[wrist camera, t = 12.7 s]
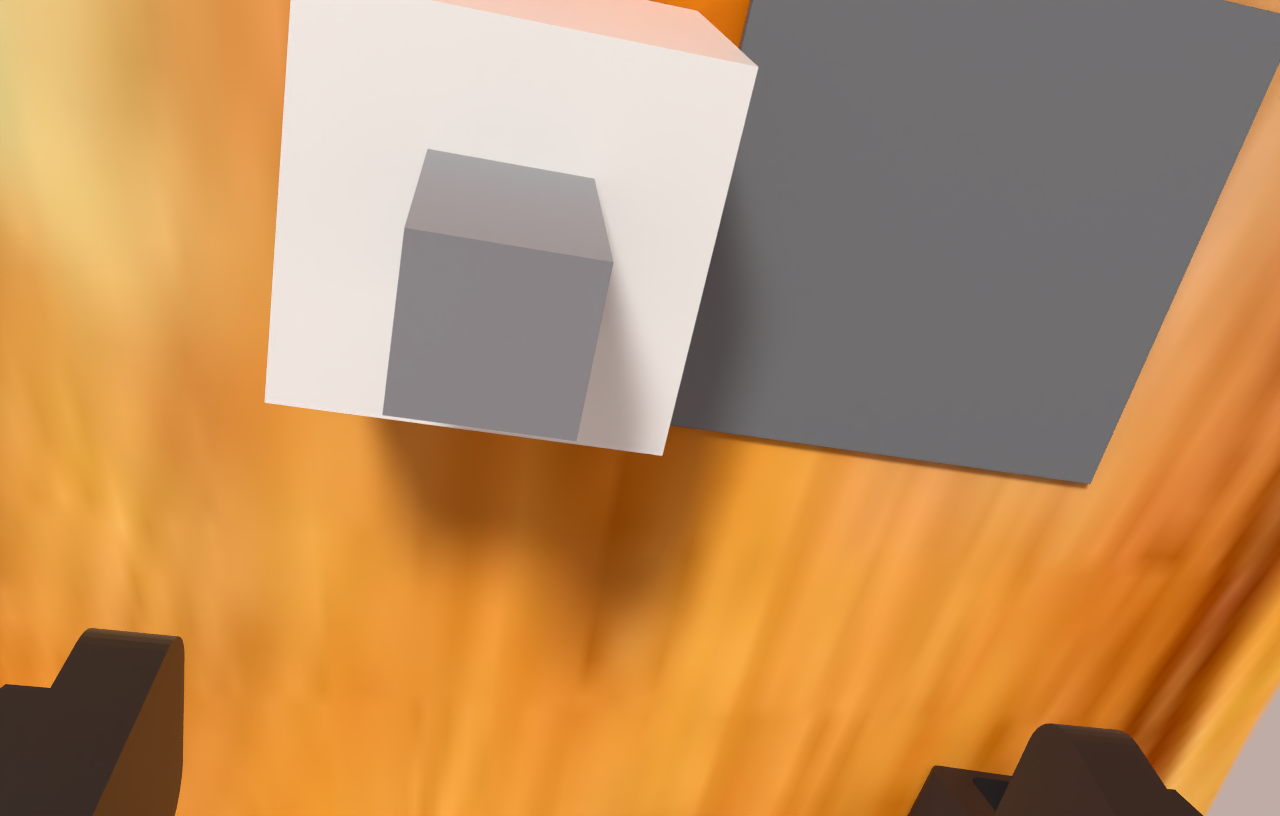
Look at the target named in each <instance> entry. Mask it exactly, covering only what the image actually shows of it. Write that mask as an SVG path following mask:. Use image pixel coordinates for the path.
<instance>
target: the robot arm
mask: <svg viewBox="0 0 1280 816" xmlns="http://www.w3.org/2000/svg"><path fill="white" fill-rule="evenodd" d="M183 714H184V644H183V640H182V639H181V637H178V636H168V635H158V634H147V633H137V632H127V631H116V630H106V629H96V628H90V629H87V630H86V631H85V632H84V633H83V634H82V635H81V636H80V638H79V639H78V641H77V643H76V644H75V646H74V648H73V650H72V651H71V653H70V655H69V657H68V658H67V660H66V662H65V664H64V665H63V667H62V669H61V671H60V672H59V674H58V676H57V677H56V679H55V681H54V683H53V684H52V686H51V688H43V687H32V686H21V685H9V684H5V685H4V686H3V687H1V688H0V816H175V812H176V808H177V803H178V798H179V792H180V786H181V778H182V766H183ZM994 816H1203V815H1202V814H1201V813H1200V812H1199V811H1197V810H1196V809H1195V808H1194V807H1193V806H1192V805H1191V804H1190V803H1189V802H1188V801H1186V800H1185V799H1184V798H1183V797H1182V796H1181V795H1180V794H1179V793H1178V792H1177V791H1176V790H1173V789H1167V788H1166V787H1165V785H1164V784H1163V782H1162V781H1161V779H1160V778H1159V776H1158V775H1157V773H1156V772H1155V770H1154V769H1153V767H1152V766H1151V764H1150V763H1149V761H1148V760H1147V758H1146V757H1145V755H1144V754H1143V752H1142V751H1141V749H1140V748H1139V746H1138V745H1137V744H1136V742H1135V741H1134V740H1133V739H1132V738H1131V737H1130V736H1129V735H1128V734H1126V733H1124V732H1122V731H1119V730H1113V729H1102V728H1092V727H1081V726H1071V725H1061V724H1044V725H1042V726H1040V727H1039V728H1038V729H1036V731H1035V732H1034V733H1033V734H1032V736H1031V738H1030V740H1029V742H1028V744H1027V746H1026V748H1025V750H1024V752H1023V754H1022V757H1021V759H1020V761H1019V763H1018V765H1017V767H1016V769H1015V772H1014V774H1013V776H1012V778H1011V780H1010V782H1009V784H1008V786H1007V789H1006V791H1005V793H1004V795H1003V797H1002V799H1001V801H1000V803H999V806H998V808H997V810H996V812H995V814H994Z"/></svg>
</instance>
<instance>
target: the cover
mask: <svg viewBox="0 0 1280 816" xmlns="http://www.w3.org/2000/svg"><path fill="white" fill-rule="evenodd" d="M757 71H758V66H757V65H756V64H755V63H754V62H753V61H752V60H750V59H749V58H748V57H747V56H746V55H745V54H744V53H743V52H742V51H741V50H740V49H738V48H737V47H736V46H735V45H734V44H733V43H732V42H731V41H730V40H729V39H728V38H727V37H725V36H724V35H723V34H722V33H721V32H720V31H719V30H718V29H717V28H716V27H715V26H713V25H712V24H711V23H710V22H709V21H708V20H707V19H706V18H705V17H704V16H703V15H702V14H700V13H699V12H698V11H696V10H691V9H687V8H682V7H677V6H672V5H668V4H663V3H658V2H653V1H649V0H291V4H290V20H289V35H288V51H287V66H286V82H285V97H284V113H283V128H282V144H281V159H280V175H279V190H278V206H277V221H276V237H275V252H274V268H273V283H272V299H271V314H270V330H269V345H268V361H267V377H266V392H265V403H272V404H279V405H287V406H294V407H302V408H309V409H317V410H324V411H332V412H339V413H346V414H354V415H361V416H369V417H376V418H384V419H391V420H399V421H406V422H414V423H421V424H428V425H436V426H443V427H451V428H458V429H466V430H473V431H481V432H488V433H496V434H503V435H511V436H518V437H525V438H533V439H540V440H548V441H555V442H563V443H570V444H578V445H585V446H593V447H600V448H607V449H615V450H622V451H630V452H637V453H645V454H652V455H660V456H662V455H663V451H664V447H665V443H666V439H667V435H668V431H669V427H670V423H671V419H672V414H673V410H674V406H675V402H676V398H677V394H678V390H679V386H680V382H681V378H682V374H683V370H684V366H685V362H686V358H687V354H688V350H689V346H690V342H691V338H692V334H693V330H694V326H695V322H696V317H697V313H698V309H699V305H700V301H701V297H702V293H703V289H704V285H705V281H706V277H707V273H708V269H709V265H710V261H711V257H712V253H713V249H714V245H715V241H716V237H717V233H718V229H719V225H720V220H721V216H722V212H723V208H724V204H725V200H726V196H727V192H728V188H729V184H730V180H731V176H732V172H733V168H734V164H735V160H736V156H737V152H738V148H739V144H740V140H741V136H742V132H743V128H744V124H745V119H746V115H747V111H748V107H749V103H750V99H751V95H752V91H753V87H754V83H755V79H756V75H757Z"/></svg>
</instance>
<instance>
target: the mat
mask: <svg viewBox="0 0 1280 816" xmlns="http://www.w3.org/2000/svg"><path fill="white" fill-rule="evenodd" d="M739 49H740V50H741V51H742V52H743V53H744V54H745V55H746V56H747V57H748V58H749V59H750V60H752V61H753V62H754V63H755V64H756V65H757V66H758V71H757V75H756V79H755V83H754V87H753V91H752V95H751V99H750V103H749V107H748V111H747V115H746V119H745V124H744V128H743V132H742V136H741V140H740V144H739V148H738V152H737V156H736V160H735V164H734V168H733V172H732V176H731V180H730V184H729V188H728V192H727V196H726V200H725V204H724V208H723V212H722V216H721V220H720V225H719V229H718V233H717V237H716V241H715V245H714V249H713V253H712V257H711V261H710V265H709V269H708V273H707V277H706V281H705V285H704V289H703V293H702V297H701V301H700V305H699V309H698V313H697V317H696V322H695V326H694V330H693V334H692V338H691V342H690V346H689V350H688V354H687V358H686V362H685V366H684V370H683V374H682V378H681V382H680V386H679V390H678V394H677V398H676V402H675V406H674V410H673V414H672V419H671V423H670V425H673V426H680V427H688V428H695V429H702V430H709V431H716V432H723V433H730V434H737V435H745V436H752V437H759V438H766V439H773V440H780V441H787V442H795V443H802V444H809V445H816V446H823V447H830V448H837V449H844V450H852V451H859V452H866V453H873V454H880V455H887V456H894V457H902V458H909V459H916V460H923V461H930V462H937V463H944V464H952V465H959V466H966V467H973V468H980V469H987V470H994V471H1001V472H1009V473H1016V474H1023V475H1030V476H1037V477H1044V478H1051V479H1059V480H1066V481H1073V482H1080V483H1087V484H1090V483H1091V481H1092V479H1093V477H1094V474H1095V472H1096V470H1097V468H1098V465H1099V463H1100V461H1101V459H1102V457H1103V454H1104V452H1105V450H1106V448H1107V445H1108V443H1109V441H1110V439H1111V437H1112V434H1113V432H1114V430H1115V428H1116V425H1117V423H1118V421H1119V419H1120V417H1121V414H1122V412H1123V410H1124V408H1125V405H1126V403H1127V401H1128V399H1129V396H1130V394H1131V392H1132V390H1133V388H1134V385H1135V383H1136V381H1137V379H1138V376H1139V374H1140V372H1141V370H1142V368H1143V365H1144V363H1145V361H1146V359H1147V356H1148V354H1149V352H1150V350H1151V348H1152V345H1153V343H1154V341H1155V339H1156V336H1157V334H1158V332H1159V330H1160V327H1161V325H1162V323H1163V321H1164V319H1165V316H1166V314H1167V312H1168V310H1169V307H1170V305H1171V303H1172V301H1173V299H1174V296H1175V294H1176V292H1177V290H1178V287H1179V285H1180V283H1181V281H1182V279H1183V276H1184V274H1185V272H1186V270H1187V267H1188V265H1189V263H1190V261H1191V258H1192V256H1193V254H1194V252H1195V250H1196V247H1197V245H1198V243H1199V241H1200V238H1201V236H1202V234H1203V232H1204V230H1205V227H1206V225H1207V223H1208V221H1209V218H1210V216H1211V214H1212V212H1213V210H1214V207H1215V205H1216V203H1217V201H1218V198H1219V196H1220V194H1221V192H1222V190H1223V187H1224V185H1225V183H1226V181H1227V178H1228V176H1229V174H1230V172H1231V169H1232V167H1233V165H1234V163H1235V161H1236V158H1237V156H1238V154H1239V152H1240V149H1241V147H1242V145H1243V143H1244V141H1245V138H1246V136H1247V134H1248V132H1249V129H1250V127H1251V125H1252V123H1253V121H1254V118H1255V116H1256V114H1257V112H1258V109H1259V107H1260V105H1261V103H1262V100H1263V98H1264V96H1265V94H1266V92H1267V89H1268V87H1269V85H1270V83H1271V80H1272V78H1273V76H1274V74H1275V72H1276V69H1277V67H1278V65H1279V63H1280V14H1279V13H1275V12H1270V11H1266V10H1262V9H1257V8H1253V7H1249V6H1245V5H1240V4H1236V3H1232V2H1228V1H1223V0H750V4H749V8H748V13H747V17H746V21H745V25H744V29H743V34H742V38H741V42H740V46H739Z"/></svg>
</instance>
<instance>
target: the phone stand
mask: <svg viewBox="0 0 1280 816" xmlns="http://www.w3.org/2000/svg"><path fill="white" fill-rule="evenodd" d="M1011 778H1012V776H1008V775H1000V774H993V773H986V772H979V771H972V770H965V769H958V768H950V767H943V766H934V767H933V769H932V771H931V773H930V775H929V777H928V779H927V780H926V782H925V784H924V786H923V788H922V790H921V792H920V794H919V796H918V798H917V800H916V802H915V804H914V806H913V808H912V809H911V811H910V813H909V815H908V816H994V814H995V812H996V810H997V808H998V806H999V803H1000V801H1001V799H1002V797H1003V795H1004V793H1005V791H1006V789H1007V786H1008V784H1009V782H1010V780H1011Z"/></svg>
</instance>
